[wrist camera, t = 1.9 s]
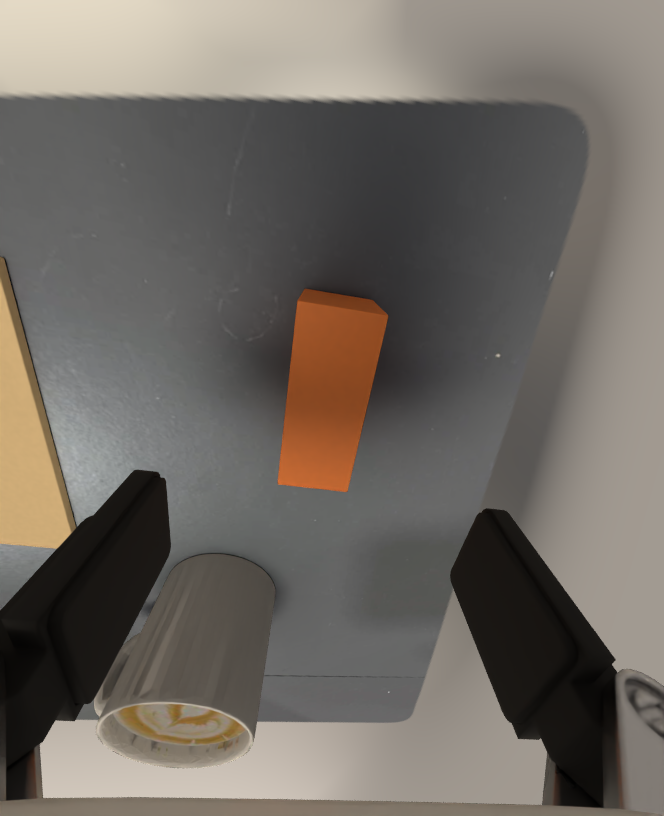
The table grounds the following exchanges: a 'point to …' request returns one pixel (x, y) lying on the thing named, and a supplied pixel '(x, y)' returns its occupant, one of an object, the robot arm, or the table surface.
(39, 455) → the mat
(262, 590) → the coffee mug
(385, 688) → the table surface
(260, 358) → the table surface
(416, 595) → the table surface
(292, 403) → the block
